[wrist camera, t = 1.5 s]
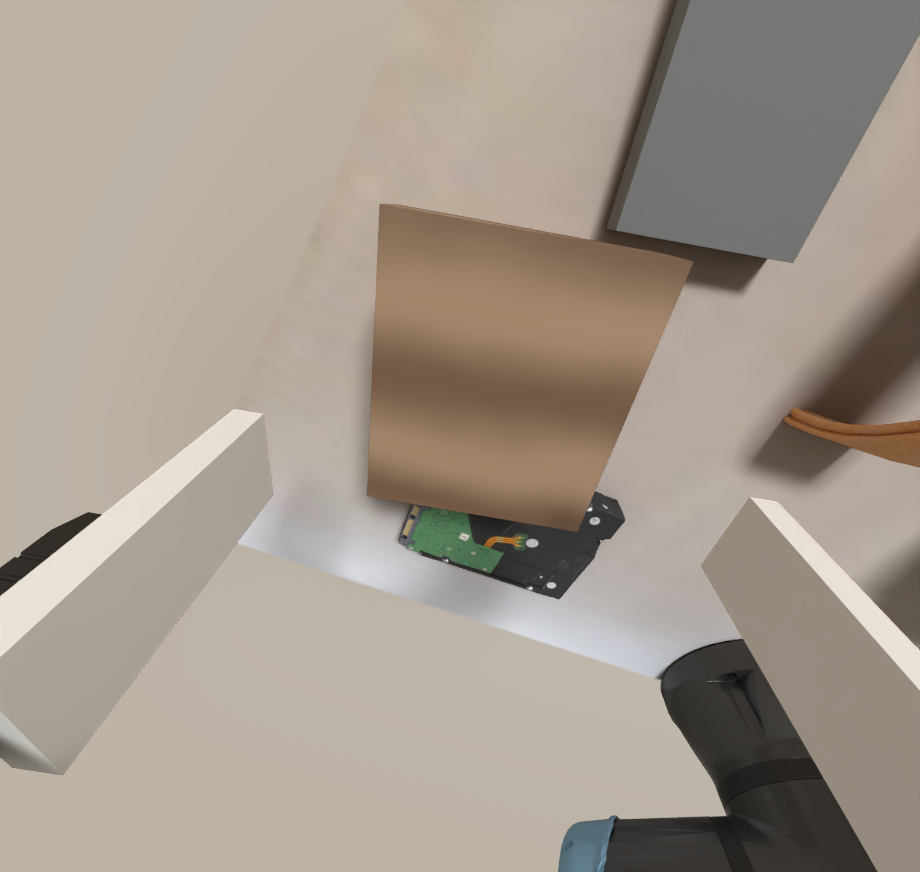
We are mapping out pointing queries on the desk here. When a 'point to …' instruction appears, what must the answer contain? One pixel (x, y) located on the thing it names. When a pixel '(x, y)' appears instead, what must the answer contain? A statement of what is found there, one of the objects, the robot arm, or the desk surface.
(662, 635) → the desk surface
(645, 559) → the desk surface
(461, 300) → the cover board
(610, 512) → the disk drive
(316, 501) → the desk surface
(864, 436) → the arch
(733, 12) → the block
